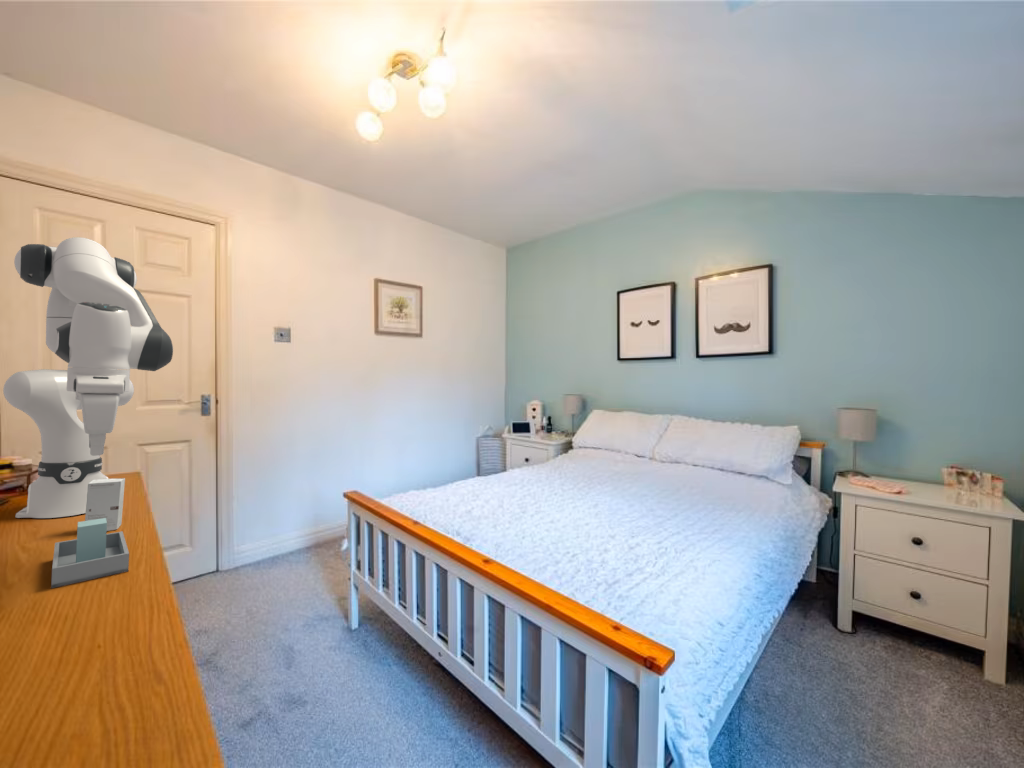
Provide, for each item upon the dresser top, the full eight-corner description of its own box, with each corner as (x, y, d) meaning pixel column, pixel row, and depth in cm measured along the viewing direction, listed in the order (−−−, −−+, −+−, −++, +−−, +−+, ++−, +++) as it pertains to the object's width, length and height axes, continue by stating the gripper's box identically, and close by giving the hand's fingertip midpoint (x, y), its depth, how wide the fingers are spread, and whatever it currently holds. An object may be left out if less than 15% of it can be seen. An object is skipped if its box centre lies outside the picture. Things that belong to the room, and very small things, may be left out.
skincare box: (83, 534, 96) (85, 483, 97) (89, 528, 100) (91, 479, 100) (118, 529, 100) (120, 481, 100) (123, 524, 104) (125, 477, 104)
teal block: (75, 562, 81) (77, 522, 81) (104, 556, 84) (105, 517, 84) (75, 568, 78) (77, 527, 78) (105, 562, 81) (106, 522, 81)
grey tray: (54, 559, 83) (55, 542, 83) (121, 546, 90) (122, 531, 90) (51, 588, 72) (52, 568, 72) (128, 571, 79) (129, 553, 79)
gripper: (76, 381, 86) (72, 446, 86) (76, 383, 72) (72, 461, 72) (117, 382, 91) (114, 443, 91) (125, 384, 77) (121, 457, 77)
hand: (95, 451), depth 81 cm, fingers open, 8 cm apart
